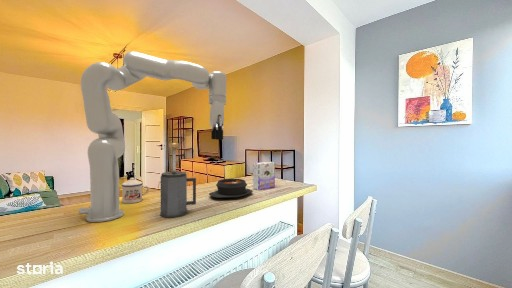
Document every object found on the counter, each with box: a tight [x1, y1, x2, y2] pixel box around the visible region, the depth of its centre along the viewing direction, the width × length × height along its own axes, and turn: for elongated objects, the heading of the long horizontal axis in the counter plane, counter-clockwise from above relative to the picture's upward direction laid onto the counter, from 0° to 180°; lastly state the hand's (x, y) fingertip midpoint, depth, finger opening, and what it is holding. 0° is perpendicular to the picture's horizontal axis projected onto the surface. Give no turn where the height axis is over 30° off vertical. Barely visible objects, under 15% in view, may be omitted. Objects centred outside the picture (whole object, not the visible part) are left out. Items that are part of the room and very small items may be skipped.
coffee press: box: [159, 170, 197, 219], centre depth 96 cm, size 14×11×17 cm
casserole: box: [208, 178, 254, 199], centre depth 125 cm, size 25×19×8 cm
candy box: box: [252, 161, 276, 191], centre depth 144 cm, size 14×6×16 cm, turn 128°
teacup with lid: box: [121, 177, 150, 204], centre depth 113 cm, size 12×9×12 cm
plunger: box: [169, 142, 180, 174], centre depth 95 cm, size 8×8×20 cm
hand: (216, 139), depth 101 cm, fingers open, 9 cm apart
